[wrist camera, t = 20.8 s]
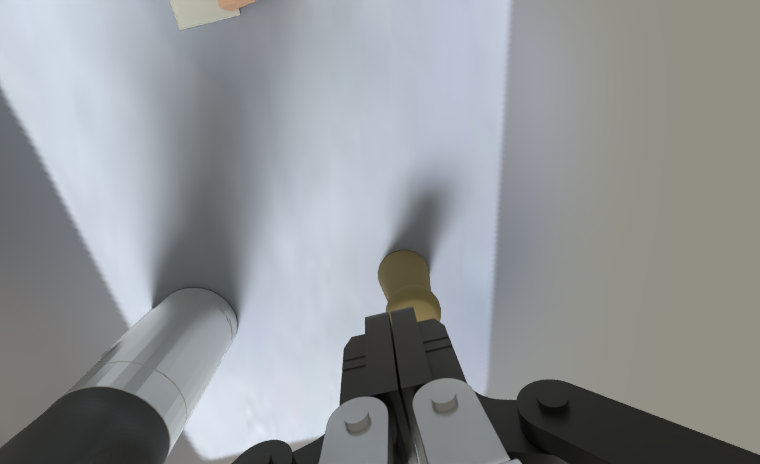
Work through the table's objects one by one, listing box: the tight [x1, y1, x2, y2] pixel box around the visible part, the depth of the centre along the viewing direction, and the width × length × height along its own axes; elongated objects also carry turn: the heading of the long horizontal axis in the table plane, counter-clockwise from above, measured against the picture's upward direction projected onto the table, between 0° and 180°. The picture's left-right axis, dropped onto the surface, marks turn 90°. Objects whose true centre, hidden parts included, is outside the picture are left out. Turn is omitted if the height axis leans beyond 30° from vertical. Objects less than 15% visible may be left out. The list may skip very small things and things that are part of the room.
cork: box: [378, 250, 441, 323], centre depth 41 cm, size 6×6×11 cm
